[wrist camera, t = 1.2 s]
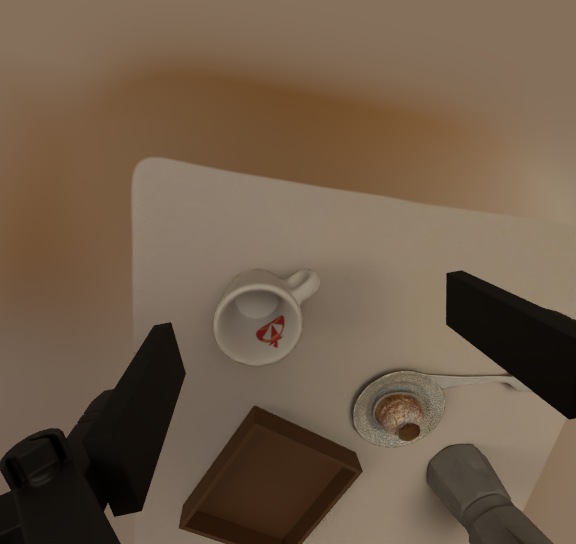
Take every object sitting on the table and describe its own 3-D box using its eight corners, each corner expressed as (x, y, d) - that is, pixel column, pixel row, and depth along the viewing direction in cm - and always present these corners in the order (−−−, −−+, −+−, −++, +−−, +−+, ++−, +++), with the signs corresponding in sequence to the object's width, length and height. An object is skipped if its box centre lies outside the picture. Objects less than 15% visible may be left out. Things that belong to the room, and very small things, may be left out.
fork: (406, 361, 44) (413, 374, 41) (560, 362, 44) (578, 374, 41) (403, 379, 45) (411, 392, 42) (555, 380, 45) (572, 393, 42)
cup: (290, 232, 34) (301, 249, 27) (326, 290, 37) (346, 321, 29) (205, 285, 35) (193, 317, 27) (246, 339, 37) (246, 382, 30)
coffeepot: (413, 448, 45) (512, 616, 28) (475, 422, 45) (613, 574, 28) (439, 517, 50) (537, 697, 33) (495, 494, 50) (623, 662, 33)
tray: (183, 505, 44) (178, 528, 41) (254, 405, 40) (254, 423, 37) (283, 540, 48) (285, 563, 45) (355, 452, 44) (362, 471, 41)
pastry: (375, 354, 40) (389, 378, 35) (457, 380, 42) (480, 405, 37) (336, 429, 43) (344, 459, 38) (414, 449, 45) (430, 479, 41)
